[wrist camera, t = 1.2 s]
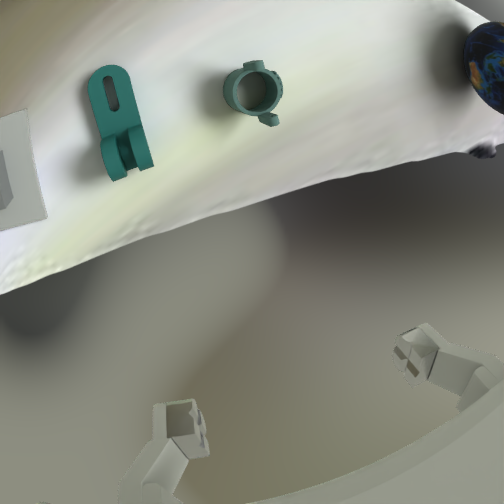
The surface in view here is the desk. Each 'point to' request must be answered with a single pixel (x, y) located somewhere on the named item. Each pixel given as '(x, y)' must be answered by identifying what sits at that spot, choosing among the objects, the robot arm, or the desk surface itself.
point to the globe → (487, 63)
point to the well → (18, 174)
